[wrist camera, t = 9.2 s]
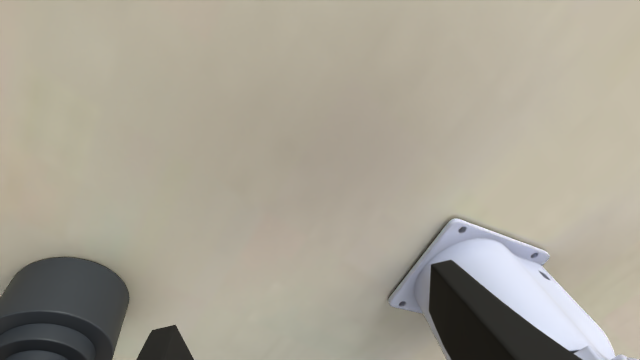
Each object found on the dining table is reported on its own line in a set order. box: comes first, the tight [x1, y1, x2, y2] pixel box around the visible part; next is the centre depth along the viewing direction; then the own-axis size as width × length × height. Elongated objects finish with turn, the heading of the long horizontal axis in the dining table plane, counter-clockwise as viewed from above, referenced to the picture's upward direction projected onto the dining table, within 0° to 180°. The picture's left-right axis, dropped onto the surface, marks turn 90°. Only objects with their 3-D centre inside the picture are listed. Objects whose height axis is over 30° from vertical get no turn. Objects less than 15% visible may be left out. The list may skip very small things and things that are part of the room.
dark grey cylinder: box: [0, 257, 129, 360], centre depth 19 cm, size 6×6×6 cm
